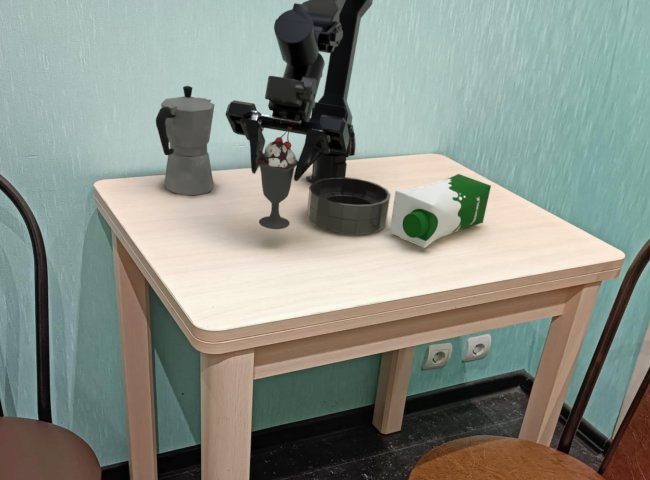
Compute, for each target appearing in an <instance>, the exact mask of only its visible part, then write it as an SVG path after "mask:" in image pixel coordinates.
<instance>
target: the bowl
mask: <svg viewBox="0 0 650 480" xmlns="http://www.w3.org/2000/svg"><path fill="white" fill-rule="evenodd" d="M390 203H391V193H390V192H389V190H388V189H387V188H385V187H384V186H382V185H380V184H378V183H375V182H373V181H370V180H367V179H366V180H365V179H362V178H361V179H360V178H356V177H355V178H354V177H346V176H345V177H334V178H325V179H320V180H317V181H315V182H313V183H312V182H311V183H310V186H309V188H308V201H307V209H306V211H307V213H306V215H307V217H308V220H309V221H310V222H311V223H312V224H314V225H315V226H316V227H319V228H322V229H324V230H326V231H331V232H335V233H339V234H347V235H348V234H349V235H361V234H362V235H363V234H364V235H365V234H371V233H376V232H379V231H381V230H382V229H384V228H386V226H387V222H388V217H389V216H388V215H389V209H390Z"/></svg>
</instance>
